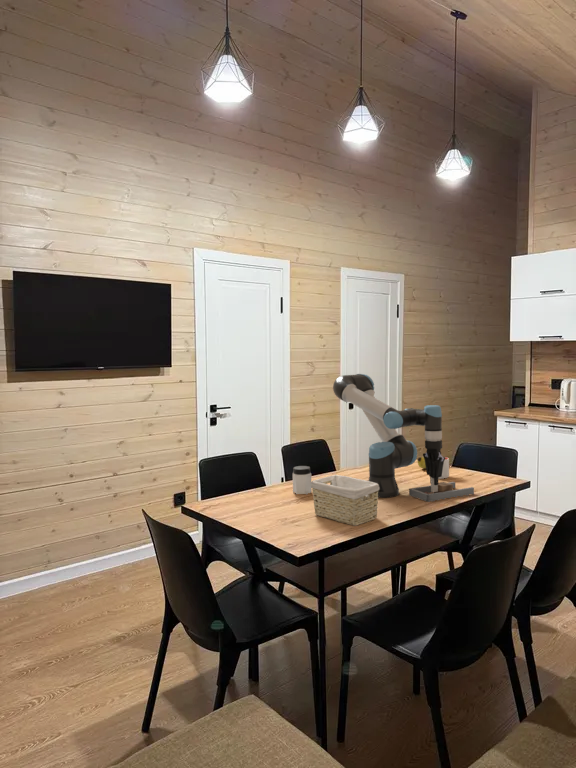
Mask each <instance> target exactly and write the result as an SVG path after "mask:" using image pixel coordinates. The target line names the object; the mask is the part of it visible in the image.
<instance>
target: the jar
mask: <svg viewBox="0 0 576 768" xmlns="http://www.w3.org/2000/svg"><path fill="white" fill-rule="evenodd" d="M292 469H293V471H292V493H294V492H295V493H296V494H295V493H294V494H295V495H297V494H306V495H309V494H311V492H312V488H311V482H312V473H311V471H312V470H311V467H310V466H307V465H298V466H294V467H293V468H292ZM308 493H309V494H308ZM312 493H313V492H312Z"/></svg>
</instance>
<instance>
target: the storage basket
mask: <svg viewBox="0 0 576 768" xmlns="http://www.w3.org/2000/svg"><path fill="white" fill-rule="evenodd" d="M311 488H312V497H313V498H312V499H313V507H314V514H315V515H317V516H319V517H323V518H325V519H329V520H333V521H336V522H338V523H343V524H347V525H351V526H354V527H356V526H359V525H362V524H365V523H368V522H371V521H374V520H375V519H377V517H378V516H377V515H378V509H379V508H378V507H379V506H378V505H379V497H378V490H379V484H377V483H374V482H370V481H368V480H365V479H361V478H355V477H351V476H346V475H341V474H340V475H339V474H338V475H337V474H334V475H328V476H324V477H321V478H316V479H313V480H311Z"/></svg>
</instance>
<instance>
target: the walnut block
mask: <svg viewBox="0 0 576 768" xmlns="http://www.w3.org/2000/svg"><path fill="white" fill-rule="evenodd" d="M451 490H454V489H453V484H449V482H446V481H442V482H438V492H433V493H439V492H445V491H451Z"/></svg>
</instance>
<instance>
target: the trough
mask: <svg viewBox="0 0 576 768" xmlns="http://www.w3.org/2000/svg"><path fill="white" fill-rule="evenodd" d="M448 483H449V484H453V488H455V489H453V490H451V491H445V492H439V493H434V492H431V484H430V485H423V486H418V487H412V488H409V489H408V495H409V496H411V497H413V498H415V499H418V498H419V500H421V501H425V502H426V503H431V502H436V501H435V500H437V501H441V500H440V499H443V500H446V499H445V498H449V499H452V498H451V497H455V498H458V497H457V496H460V497H464V496H463V495H466V496H470V495H469V494H472V495H475V488H474V487H473V486H471V487H464V488H459V489H456V482H455V481H451V482H450V481H449V482H448ZM430 501H431V502H430Z"/></svg>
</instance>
